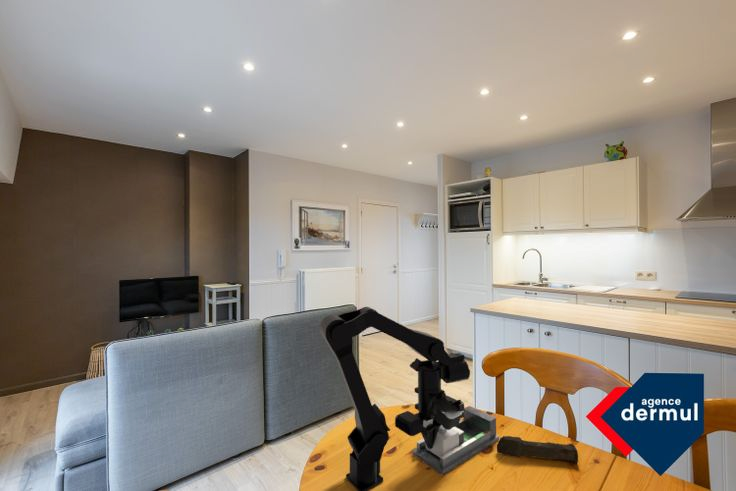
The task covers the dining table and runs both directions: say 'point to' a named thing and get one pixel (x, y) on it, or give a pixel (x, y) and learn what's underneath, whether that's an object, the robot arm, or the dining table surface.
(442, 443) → the knobbed white cube
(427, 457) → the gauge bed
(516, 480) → the dining table surface
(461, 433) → the white flat block
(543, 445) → the hand tool
